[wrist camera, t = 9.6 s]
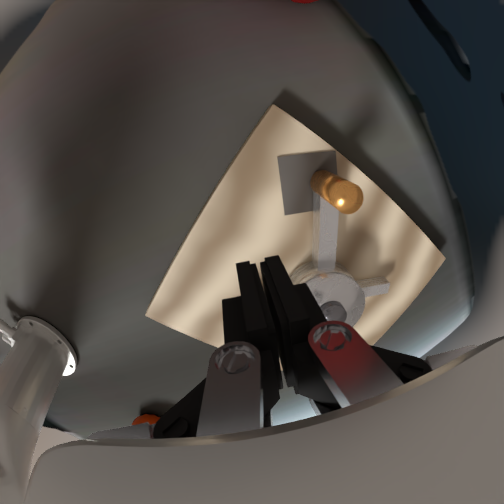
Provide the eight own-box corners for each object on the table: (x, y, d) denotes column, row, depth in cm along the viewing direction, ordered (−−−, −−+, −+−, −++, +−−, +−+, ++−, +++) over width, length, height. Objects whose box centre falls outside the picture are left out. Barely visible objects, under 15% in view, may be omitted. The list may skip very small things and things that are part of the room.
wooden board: (148, 305, 31) (144, 316, 29) (269, 105, 23) (273, 103, 21) (327, 375, 40) (331, 385, 38) (437, 252, 32) (446, 259, 30)
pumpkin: (148, 428, 44) (144, 457, 38) (126, 409, 41) (120, 440, 34) (179, 426, 44) (178, 457, 38) (159, 406, 41) (154, 440, 34)
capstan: (370, 333, 34) (389, 363, 28) (246, 354, 33) (251, 391, 27) (396, 170, 24) (433, 184, 19) (229, 175, 23) (231, 189, 18)
